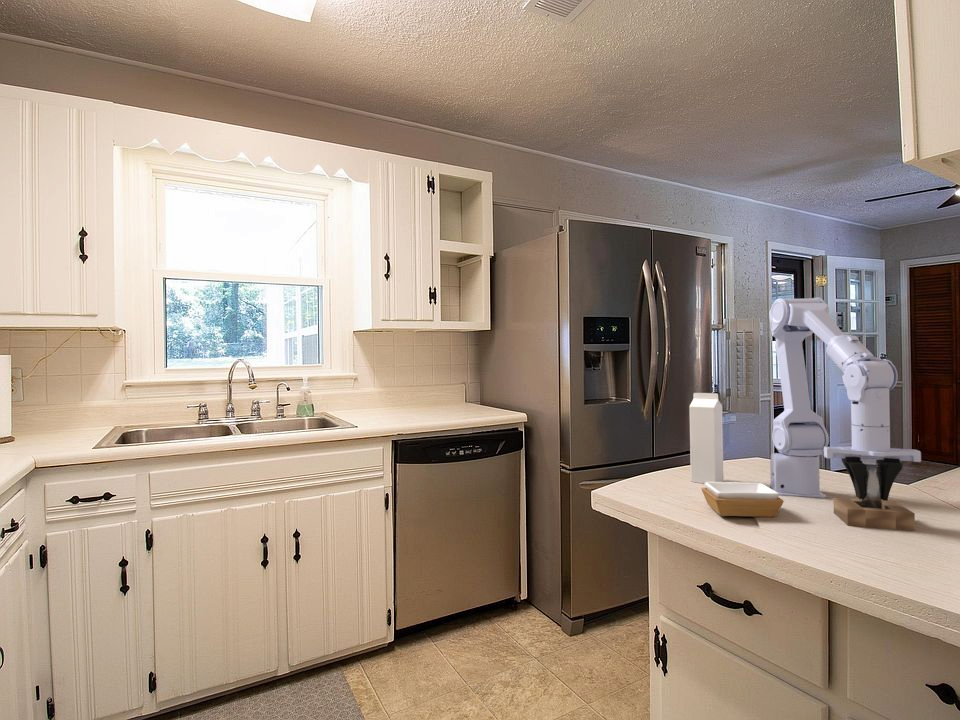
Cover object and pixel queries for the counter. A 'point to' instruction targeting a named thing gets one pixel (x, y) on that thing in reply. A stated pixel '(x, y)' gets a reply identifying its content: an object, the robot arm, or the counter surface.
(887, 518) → the block
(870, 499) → the peg
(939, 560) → the counter surface
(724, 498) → the soap dish
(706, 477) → the milk
